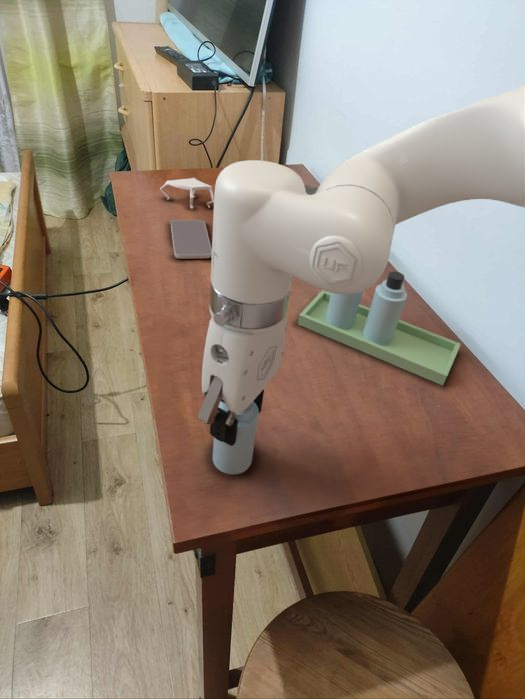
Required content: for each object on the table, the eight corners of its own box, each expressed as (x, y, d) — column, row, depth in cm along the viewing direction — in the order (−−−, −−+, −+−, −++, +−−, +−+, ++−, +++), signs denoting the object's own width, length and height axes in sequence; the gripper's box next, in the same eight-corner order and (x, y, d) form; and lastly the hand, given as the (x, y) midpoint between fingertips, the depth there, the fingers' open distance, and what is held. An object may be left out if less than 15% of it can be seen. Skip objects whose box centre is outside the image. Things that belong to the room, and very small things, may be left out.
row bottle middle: (395, 334, 87) (416, 274, 80) (386, 349, 84) (407, 288, 76) (368, 323, 89) (386, 263, 81) (358, 337, 86) (376, 276, 78)
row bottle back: (358, 318, 90) (375, 259, 82) (347, 333, 86) (364, 272, 78) (332, 308, 91) (346, 249, 83) (320, 322, 88) (334, 261, 80)
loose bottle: (259, 454, 66) (269, 388, 58) (238, 481, 62) (246, 415, 54) (226, 436, 67) (232, 370, 59) (204, 462, 64) (208, 395, 56)
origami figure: (209, 194, 123) (210, 174, 120) (214, 210, 117) (215, 190, 114) (159, 194, 121) (158, 173, 117) (161, 210, 114) (160, 189, 111)
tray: (456, 353, 86) (461, 343, 85) (442, 385, 79) (447, 376, 78) (320, 298, 94) (322, 289, 93) (297, 324, 88) (299, 314, 86)
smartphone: (204, 220, 111) (212, 254, 100) (204, 223, 112) (212, 259, 101) (170, 219, 110) (174, 255, 98) (170, 223, 110) (174, 259, 99)
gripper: (235, 361, 42) (223, 490, 53) (321, 273, 53) (296, 394, 65) (161, 327, 44) (165, 457, 56) (259, 249, 56) (245, 370, 68)
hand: (236, 422), depth 60 cm, fingers closed on loose bottle, 5 cm apart
